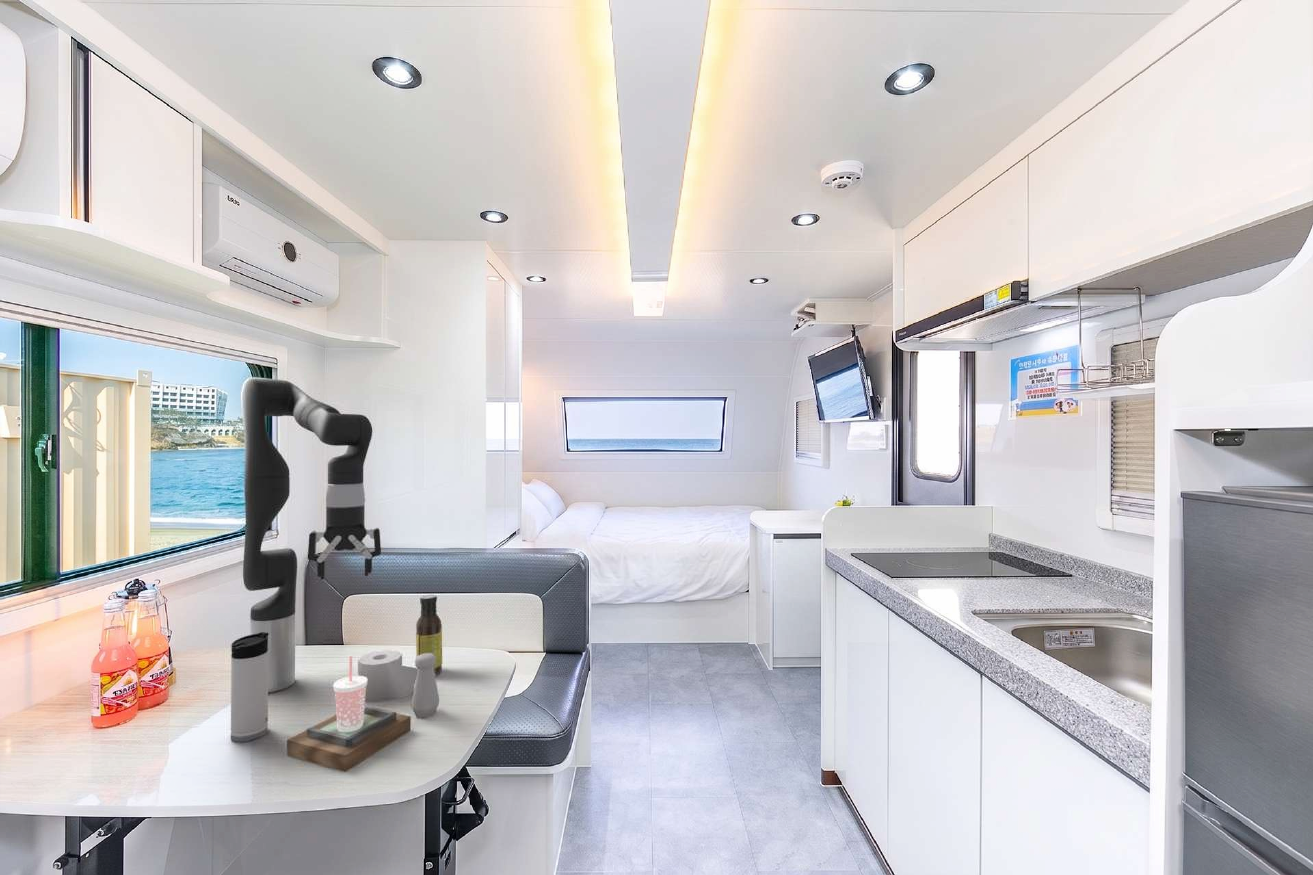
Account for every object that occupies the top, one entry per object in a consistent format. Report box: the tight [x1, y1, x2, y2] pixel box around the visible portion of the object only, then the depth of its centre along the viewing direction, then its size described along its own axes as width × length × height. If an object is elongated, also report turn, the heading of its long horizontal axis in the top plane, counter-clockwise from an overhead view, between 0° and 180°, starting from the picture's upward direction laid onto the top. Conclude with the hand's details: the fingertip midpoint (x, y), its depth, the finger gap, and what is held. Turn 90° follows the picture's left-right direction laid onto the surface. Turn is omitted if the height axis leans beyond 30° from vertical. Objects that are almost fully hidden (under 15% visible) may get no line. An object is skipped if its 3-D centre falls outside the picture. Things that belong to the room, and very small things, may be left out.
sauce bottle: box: [415, 594, 443, 676], centre depth 152 cm, size 6×6×20 cm
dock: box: [286, 705, 412, 772], centre depth 117 cm, size 15×16×4 cm
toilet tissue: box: [357, 649, 418, 703], centre depth 141 cm, size 9×13×9 cm
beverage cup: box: [332, 656, 368, 732], centre depth 117 cm, size 6×6×14 cm
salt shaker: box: [410, 653, 440, 719], centre depth 130 cm, size 6×6×13 cm
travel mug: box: [230, 632, 269, 743], centre depth 120 cm, size 6×7×20 cm
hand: (345, 577), depth 130 cm, fingers open, 8 cm apart
